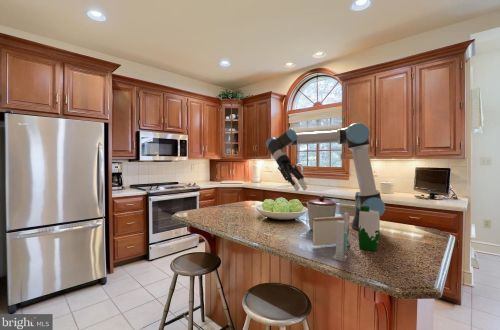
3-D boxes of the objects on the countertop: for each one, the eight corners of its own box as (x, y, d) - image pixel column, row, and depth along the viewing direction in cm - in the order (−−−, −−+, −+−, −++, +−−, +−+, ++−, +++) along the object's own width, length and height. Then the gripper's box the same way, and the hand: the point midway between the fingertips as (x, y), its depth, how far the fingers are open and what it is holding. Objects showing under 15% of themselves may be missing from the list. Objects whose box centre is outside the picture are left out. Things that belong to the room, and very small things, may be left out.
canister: (307, 234, 144) (308, 197, 143) (304, 226, 162) (304, 193, 161) (340, 235, 142) (341, 198, 141) (333, 227, 160) (333, 194, 159)
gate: (340, 241, 127) (341, 216, 127) (343, 243, 125) (343, 217, 125) (312, 244, 122) (313, 218, 122) (314, 245, 120) (315, 219, 120)
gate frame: (341, 242, 130) (342, 211, 129) (351, 244, 127) (352, 212, 127) (332, 259, 108) (333, 222, 107) (345, 261, 105) (346, 223, 105)
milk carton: (359, 243, 129) (360, 204, 128) (379, 247, 124) (380, 206, 123) (356, 248, 121) (358, 207, 121) (377, 252, 116) (379, 209, 116)
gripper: (289, 163, 157) (309, 192, 145) (266, 163, 147) (286, 194, 134) (295, 154, 153) (317, 184, 140) (273, 153, 142) (293, 185, 129)
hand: (301, 189), depth 137 cm, fingers open, 5 cm apart
